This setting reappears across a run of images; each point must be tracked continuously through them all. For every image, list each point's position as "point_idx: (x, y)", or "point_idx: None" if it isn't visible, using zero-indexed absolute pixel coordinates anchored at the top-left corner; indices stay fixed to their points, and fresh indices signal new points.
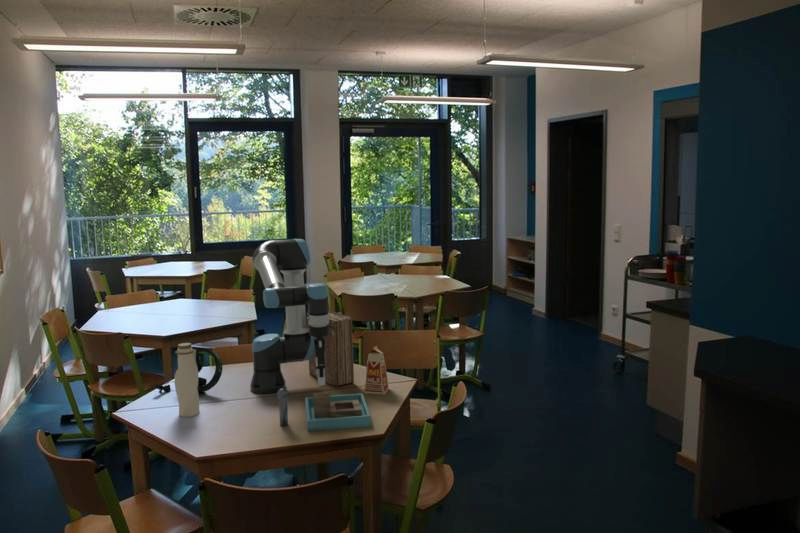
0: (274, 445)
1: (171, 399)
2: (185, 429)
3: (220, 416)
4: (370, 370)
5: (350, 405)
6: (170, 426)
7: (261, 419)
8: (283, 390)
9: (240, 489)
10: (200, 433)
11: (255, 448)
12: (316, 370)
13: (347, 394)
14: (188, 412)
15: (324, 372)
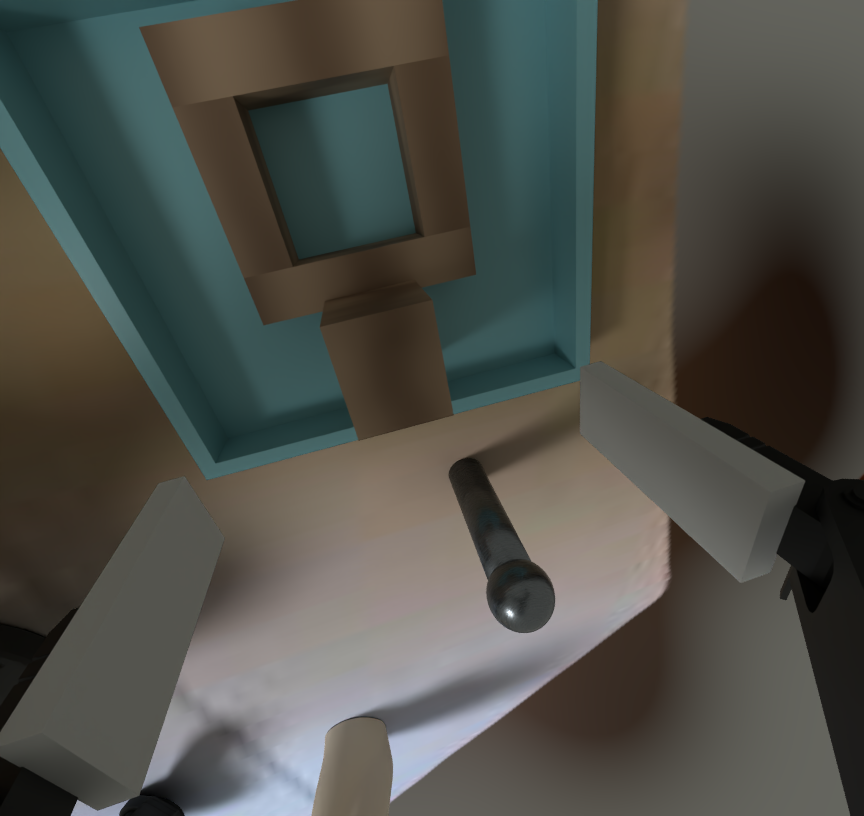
0: None
1: (239, 808)
2: (479, 687)
3: (376, 668)
4: None
5: (247, 125)
6: (454, 719)
7: (404, 561)
8: (550, 608)
9: None
10: (513, 651)
11: None
12: (210, 570)
13: (17, 171)
14: (385, 739)
15: (724, 441)
